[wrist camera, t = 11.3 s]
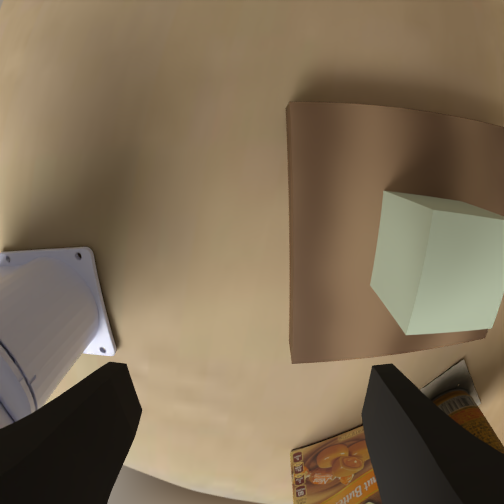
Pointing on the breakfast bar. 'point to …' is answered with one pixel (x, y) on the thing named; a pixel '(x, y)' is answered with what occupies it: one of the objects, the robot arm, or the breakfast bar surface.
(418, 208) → the sage cube
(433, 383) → the condiment
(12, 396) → the robot arm
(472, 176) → the walnut block
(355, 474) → the candy box
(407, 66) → the breakfast bar surface
